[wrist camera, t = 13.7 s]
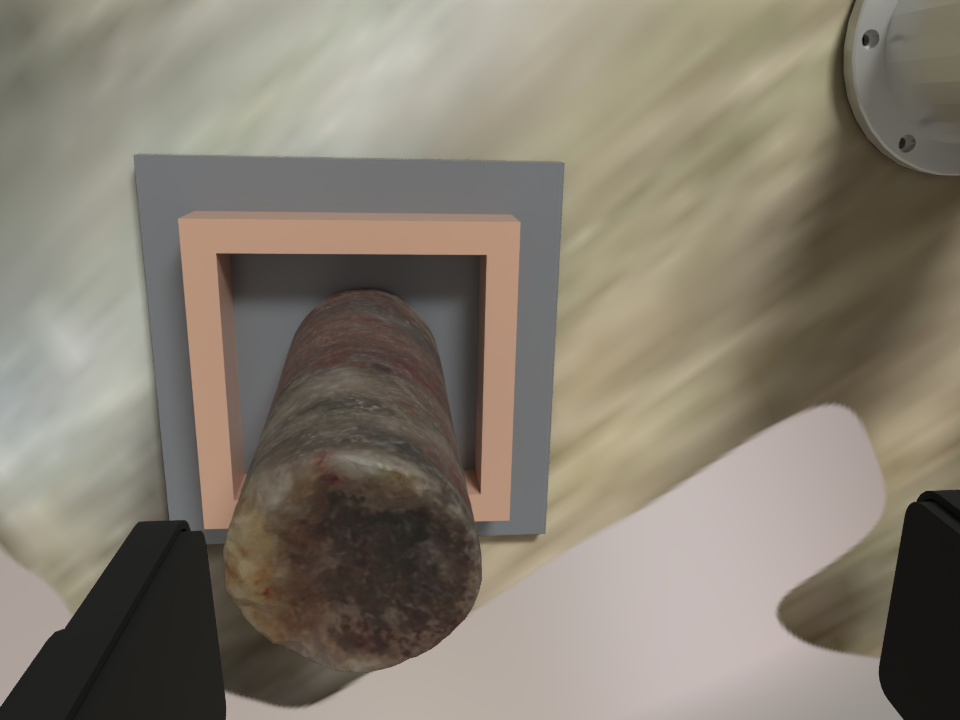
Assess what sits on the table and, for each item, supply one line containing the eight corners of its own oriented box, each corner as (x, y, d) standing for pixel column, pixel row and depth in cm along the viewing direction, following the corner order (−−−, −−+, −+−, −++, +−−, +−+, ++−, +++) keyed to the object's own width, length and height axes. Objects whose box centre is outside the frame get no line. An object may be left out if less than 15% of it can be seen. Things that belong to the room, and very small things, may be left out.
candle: (465, 390, 42) (526, 621, 23) (340, 453, 42) (296, 734, 23) (395, 260, 39) (397, 394, 20) (263, 328, 40) (142, 524, 20)
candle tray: (560, 161, 40) (578, 166, 36) (542, 525, 45) (555, 562, 42) (140, 153, 38) (111, 158, 34) (176, 535, 43) (155, 576, 40)
